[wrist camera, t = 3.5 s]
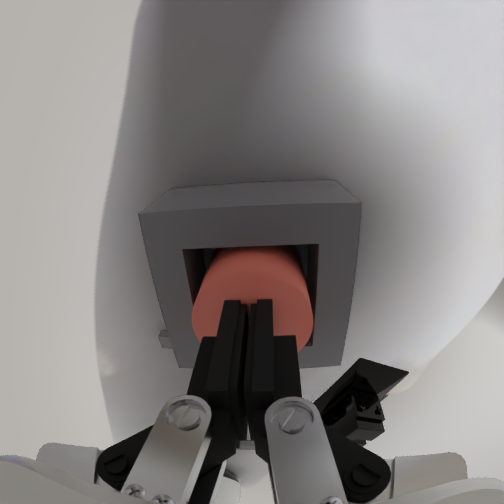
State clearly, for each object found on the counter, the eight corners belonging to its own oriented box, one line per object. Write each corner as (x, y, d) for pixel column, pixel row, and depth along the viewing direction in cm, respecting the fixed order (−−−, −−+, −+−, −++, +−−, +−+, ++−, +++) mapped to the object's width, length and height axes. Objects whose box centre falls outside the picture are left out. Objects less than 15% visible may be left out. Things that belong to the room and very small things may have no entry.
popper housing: (170, 188, 14) (138, 213, 10) (335, 180, 13) (361, 202, 9) (194, 319, 17) (179, 367, 13) (327, 316, 16) (340, 365, 13)
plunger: (204, 231, 13) (180, 275, 9) (302, 226, 13) (316, 270, 9) (216, 309, 15) (202, 366, 11) (301, 307, 14) (309, 364, 11)
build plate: (334, 433, 24) (338, 471, 20) (271, 420, 23) (270, 463, 19) (423, 358, 19) (443, 401, 15) (360, 334, 18) (377, 387, 14)
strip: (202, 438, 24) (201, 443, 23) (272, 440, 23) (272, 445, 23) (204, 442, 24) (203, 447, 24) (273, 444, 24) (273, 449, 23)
